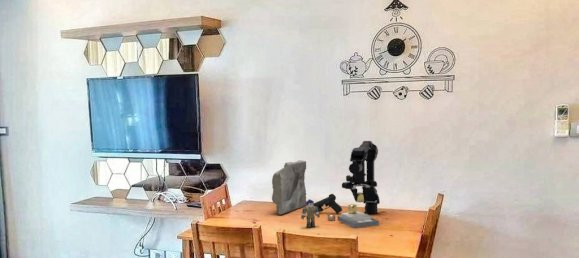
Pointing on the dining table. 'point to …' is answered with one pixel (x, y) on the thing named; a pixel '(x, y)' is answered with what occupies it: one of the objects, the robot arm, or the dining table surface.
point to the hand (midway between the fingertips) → (359, 200)
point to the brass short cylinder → (352, 209)
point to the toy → (310, 214)
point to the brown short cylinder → (331, 217)
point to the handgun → (328, 204)
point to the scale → (357, 220)
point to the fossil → (289, 187)
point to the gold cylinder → (360, 197)
